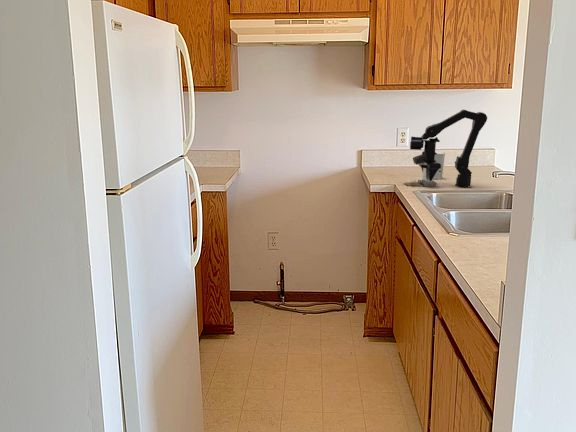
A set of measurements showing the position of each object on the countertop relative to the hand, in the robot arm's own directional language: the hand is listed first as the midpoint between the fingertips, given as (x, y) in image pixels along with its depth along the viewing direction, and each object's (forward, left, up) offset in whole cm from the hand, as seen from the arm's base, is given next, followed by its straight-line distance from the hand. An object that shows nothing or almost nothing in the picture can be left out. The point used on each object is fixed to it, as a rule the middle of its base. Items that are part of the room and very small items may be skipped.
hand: (427, 179), depth 299 cm
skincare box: (-12, -19, -3) cm, 22 cm away
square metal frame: (0, 0, -3) cm, 3 cm away
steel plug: (0, 0, -3) cm, 3 cm away
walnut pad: (+8, 0, -3) cm, 9 cm away
